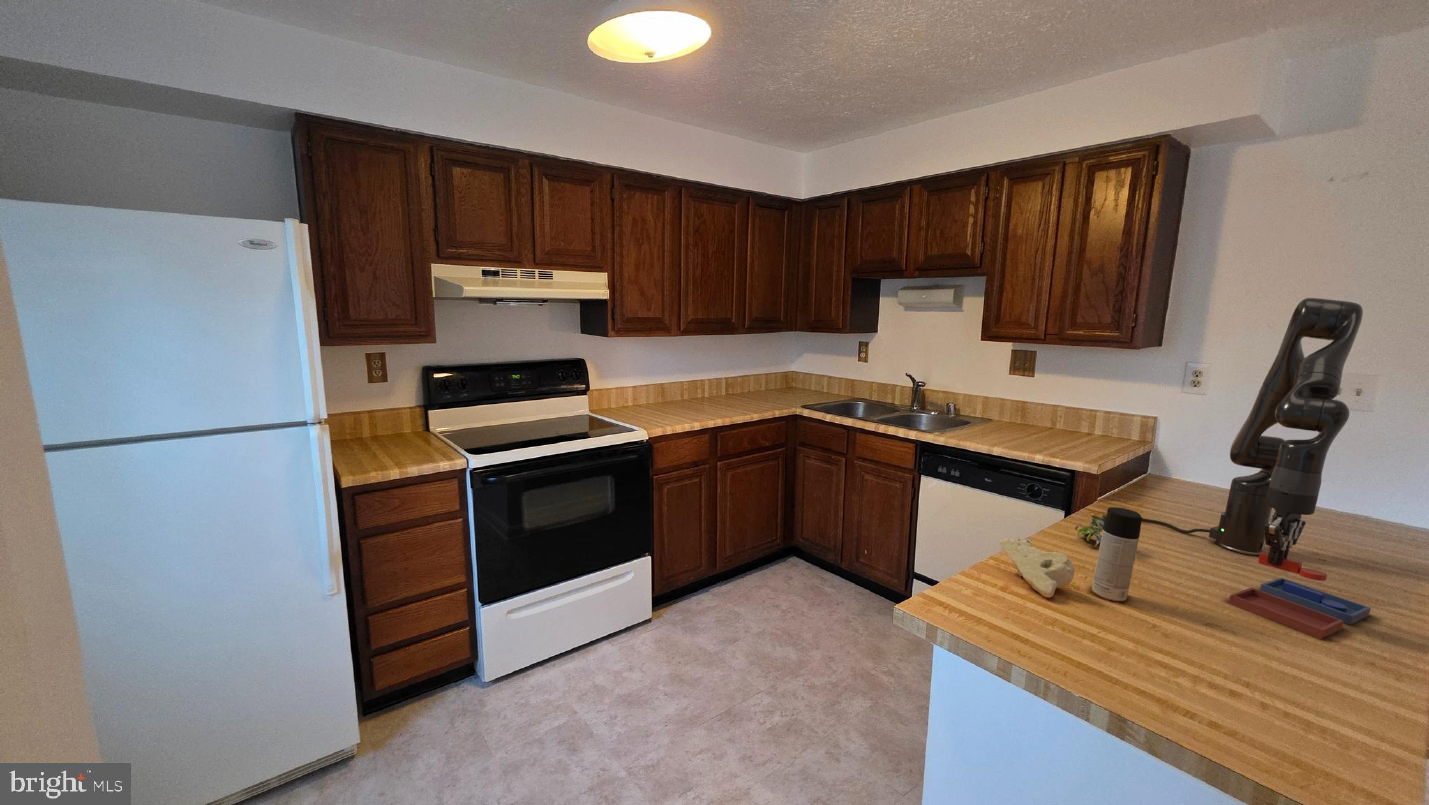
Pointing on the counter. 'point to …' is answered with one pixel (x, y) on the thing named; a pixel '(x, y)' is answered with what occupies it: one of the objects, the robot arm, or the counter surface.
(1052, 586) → the bone fragment
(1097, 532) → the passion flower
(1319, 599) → the blue spoon
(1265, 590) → the blue tray
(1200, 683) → the counter surface
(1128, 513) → the spray can
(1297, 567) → the red spoon
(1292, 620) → the red tray
